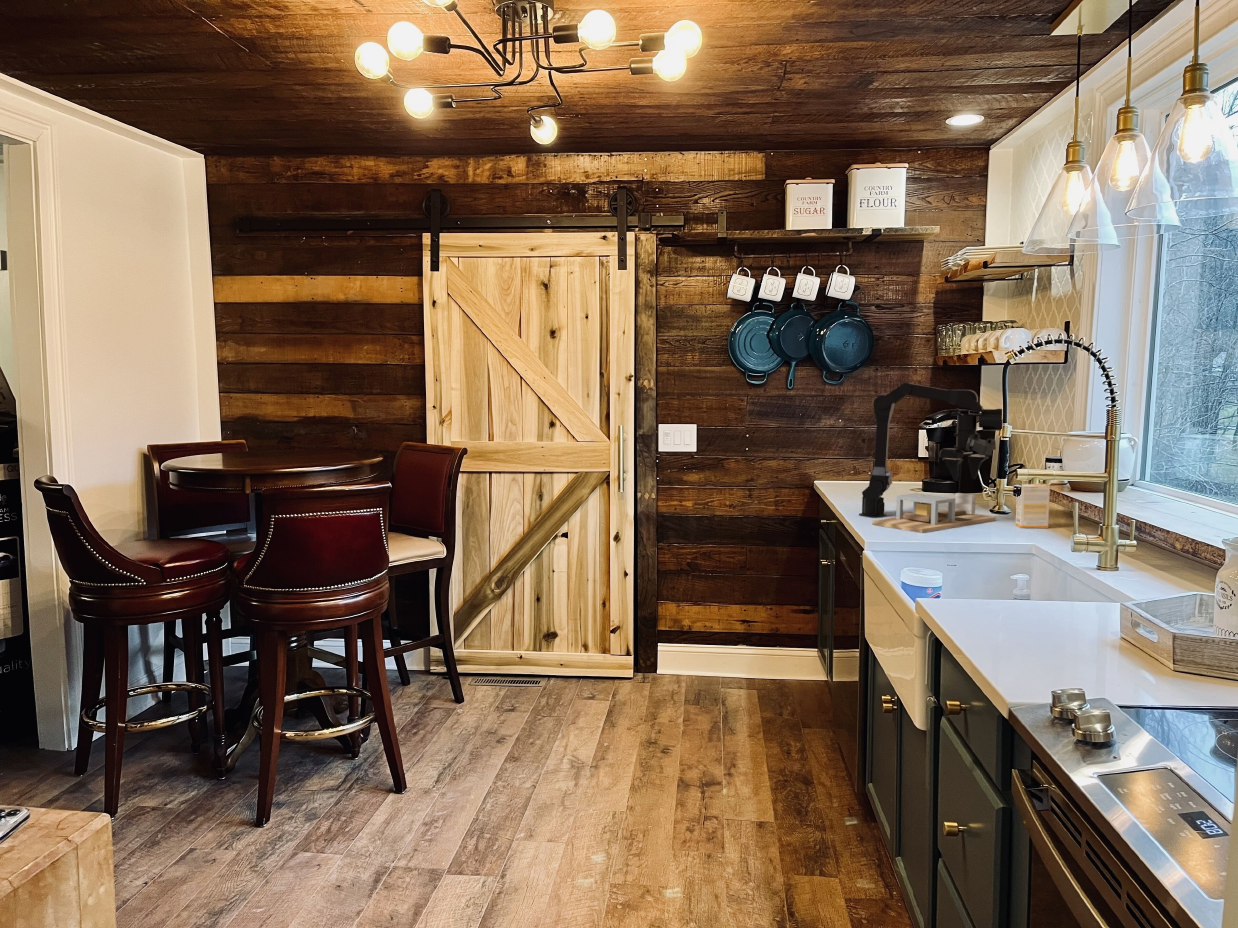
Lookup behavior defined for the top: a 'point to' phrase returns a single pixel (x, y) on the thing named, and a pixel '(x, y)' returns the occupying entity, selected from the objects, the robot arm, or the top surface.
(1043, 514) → the supplement box
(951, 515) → the grey small table
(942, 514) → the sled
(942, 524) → the base board
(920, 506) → the ochre block
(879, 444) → the robot arm
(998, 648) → the top surface
